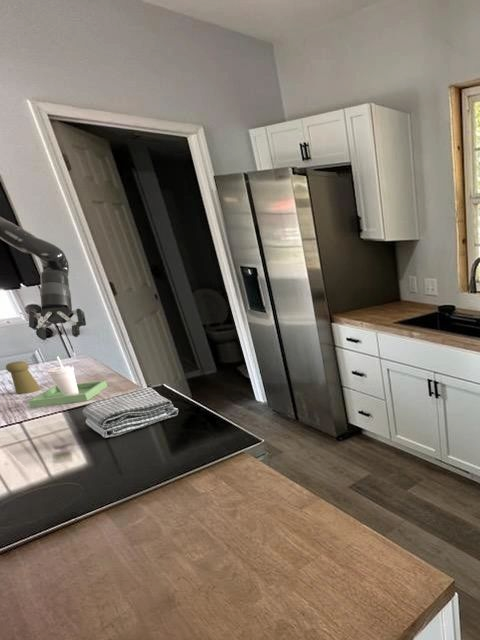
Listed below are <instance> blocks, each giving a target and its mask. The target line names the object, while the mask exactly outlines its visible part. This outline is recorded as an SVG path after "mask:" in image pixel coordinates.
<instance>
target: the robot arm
mask: <svg viewBox="0 0 480 640" xmlns="http://www.w3.org/2000/svg"><path fill="white" fill-rule="evenodd" d="M0 240H2V241H3V242H5V243H7V244H8V245H10V246H11V247H13V248H15V249H17V250H18V251H20V252H22V253H25V254H32V255H33V256H35V257H37V258H38V259H39V261H40V264H41V266H42V267H41V268H42V271H41V272H40V295H39V296H40V304H41V305H40V307H41V312H33V311H30V312H29V315H28V327H29V328H31V329H32V330H34V331H37V333H36V334H37V337H38V339H40V340H42V341H46V340H47V331H46V329H47V328H49V327H51V326H52V325H58V324H66V323H70V325H71V334H72V336H73V337H74V338H78V337H79V336H80V334H81V331H80V327H86V326H87V321H86V316H85V312H84V311H83V310H82V309H81V308H76V309H74V310H73V305H72V295H71V290H70V283H69V272H70V271H69V269H70V267H69V265H70V264H69V261H68V258H67V257H66V254H65V252H64V251H63V250H62V249H61V248H60V247H59V246H57V245H56V244H53V243H51V242H48V241H47V240H44V239H41V238H39V237H37V236H35V235H34V234H32V233H31V232H29V231H27V230H26V229H24V228H22V227H20V226H19V225H16V223H14V222H11V221H9V220H7V219H6V218H3V217H2V216H0ZM74 315H75V316H76V317H77V321H75V320H73V319H72V317H74Z"/></svg>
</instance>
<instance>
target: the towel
mask: <svg viewBox="0 0 480 640" xmlns="http://www.w3.org/2000/svg"><path fill="white" fill-rule="evenodd" d="M81 413H82V415H83V416H84V418H86V419H85V424H86V425H87V426H88V427H89V428H91V429H92V430H93V431H95V433H98V434H99V435H101V436H102V438H104V439H107V438H113V437H119V436H121V435H123V434H124V435H125V434H127V433H131V432H133V431H136V430H138V429H141V428H145V427H147V426H151V425H153V424H156V423H158V422H162V421H165V420H168V419H171V418H174V417H177V416H178V414H179V408H177V407H174V404H173V403H172V401H171V399H168V398H166V397H164V396H162V395H161V394H160V393H159V392H157V391H156V390H155V389H154V388H152V387H151V386H147V387H144V388H141V389H138V390H134V391H131V392H127V393H124V394H121V395H117V396H113V397H109V398H106V399H103V400H102V399H101V400H98V401H95V402H91V403H89V404H88V405H86V406H85V407H84V408H83V409H82V411H81Z"/></svg>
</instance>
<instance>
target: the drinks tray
mask: <svg viewBox="0 0 480 640" xmlns="http://www.w3.org/2000/svg"><path fill="white" fill-rule="evenodd" d="M77 387H78V391H79V394H77V395H69V396H64V395H63V394H62V392H61V391H60V389H59V388H58V386H57V385H56V386H52V387H50V388H48V389H47V390H45V391H43V392H42V393H40V394H38V395H37V396H34V397H33V398H31V399H29V400H28V401H27V403H28V404H29V407H30V408H32V409H34V408H41V407H49V406H55V405H65V404H72V403H78V402H87V401H89V400H91V399H92V398H94V397H95V396H96V395H98V394H100V393H101V392H102V391H104V390H105V389H106V388H108V387H109V386H108V384H107V381H106V380H98V381H89V382H79V383H77Z"/></svg>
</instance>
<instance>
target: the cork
mask: <svg viewBox="0 0 480 640" xmlns="http://www.w3.org/2000/svg"><path fill="white" fill-rule="evenodd" d="M5 369H6V371H7V372H9V373H10V375H11V379H12V383H13V386H14V391H15V393H16V395H25V394H31V393H34V392H37V391H40V390H41V387H40V385H39V384H38V382H37V380H35V378H34V376H33V374H31V372H30V371H29V364H28V363H27V362H26V361H21V360H19V361H12V362H9V363H7V364H6V366H5Z"/></svg>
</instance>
